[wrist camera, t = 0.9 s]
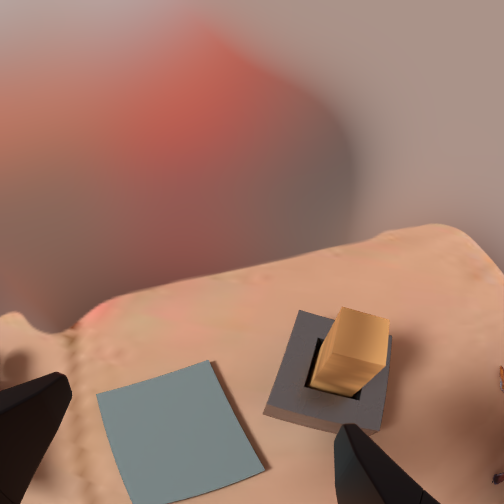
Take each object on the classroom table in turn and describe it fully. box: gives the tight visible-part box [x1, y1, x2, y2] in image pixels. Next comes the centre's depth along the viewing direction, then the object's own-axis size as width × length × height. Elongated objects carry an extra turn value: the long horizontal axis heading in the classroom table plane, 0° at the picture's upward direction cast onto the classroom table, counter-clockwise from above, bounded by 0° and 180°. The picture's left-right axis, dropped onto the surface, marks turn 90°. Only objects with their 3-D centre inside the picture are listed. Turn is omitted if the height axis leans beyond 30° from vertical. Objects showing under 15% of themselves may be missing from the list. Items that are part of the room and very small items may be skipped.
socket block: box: [263, 310, 392, 436], centre depth 22 cm, size 9×9×4 cm
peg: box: [305, 307, 390, 398], centre depth 20 cm, size 4×4×9 cm
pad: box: [96, 360, 265, 504], centre depth 19 cm, size 11×11×1 cm
